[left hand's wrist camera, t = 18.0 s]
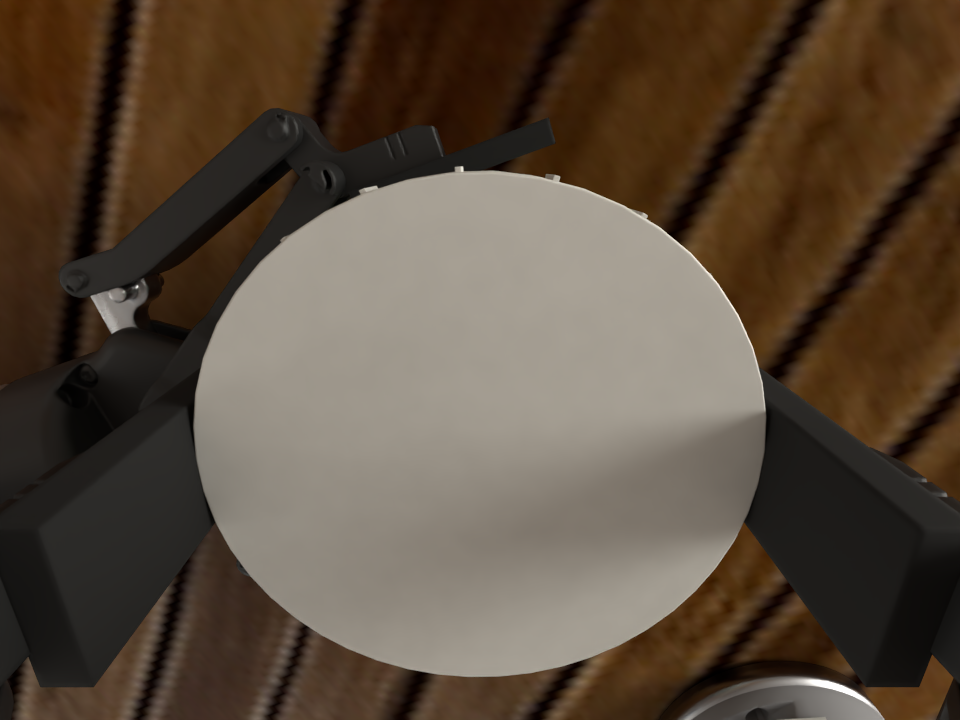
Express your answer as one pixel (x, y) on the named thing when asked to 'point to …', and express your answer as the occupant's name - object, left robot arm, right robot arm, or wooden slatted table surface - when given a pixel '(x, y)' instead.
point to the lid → (479, 423)
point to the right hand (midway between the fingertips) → (590, 290)
